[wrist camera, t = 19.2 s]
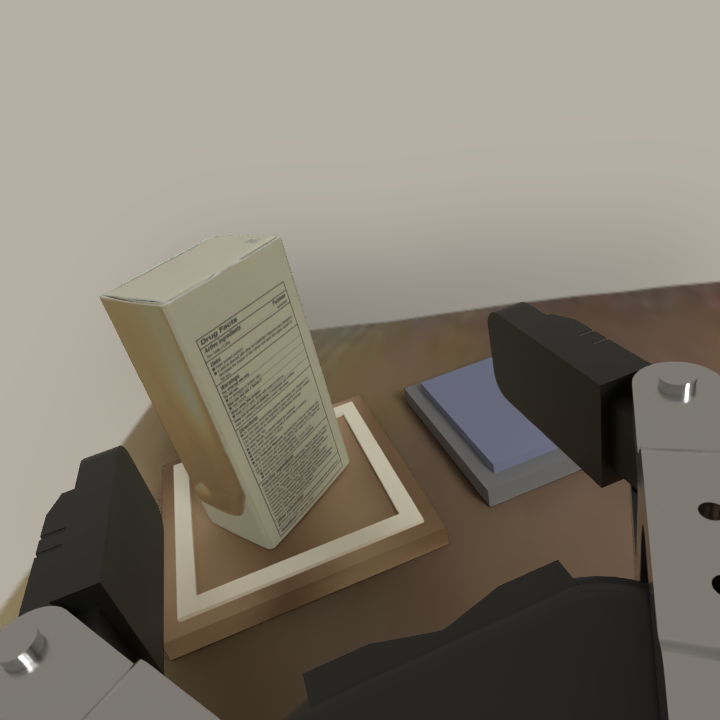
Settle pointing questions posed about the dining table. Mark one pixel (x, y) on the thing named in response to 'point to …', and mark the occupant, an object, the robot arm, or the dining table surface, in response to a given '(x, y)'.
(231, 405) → the skincare box
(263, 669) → the dining table surface
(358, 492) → the marked board
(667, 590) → the robot arm
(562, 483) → the dining table surface
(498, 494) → the ink pad
